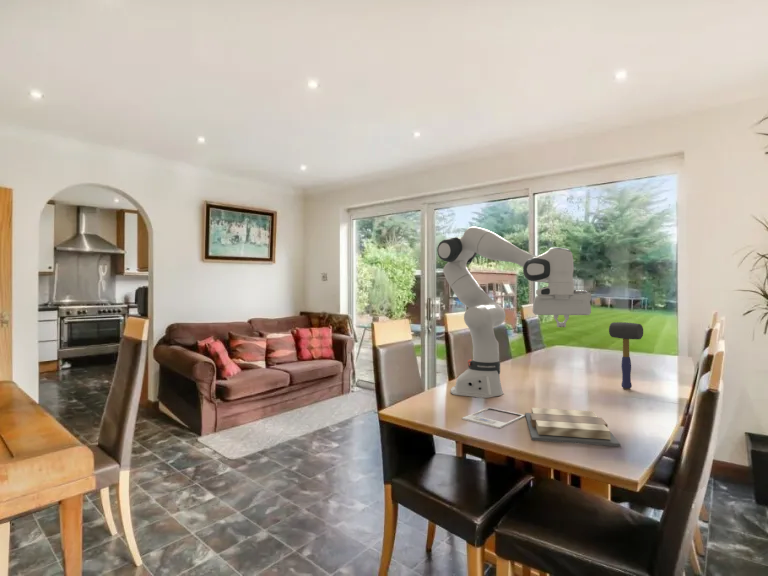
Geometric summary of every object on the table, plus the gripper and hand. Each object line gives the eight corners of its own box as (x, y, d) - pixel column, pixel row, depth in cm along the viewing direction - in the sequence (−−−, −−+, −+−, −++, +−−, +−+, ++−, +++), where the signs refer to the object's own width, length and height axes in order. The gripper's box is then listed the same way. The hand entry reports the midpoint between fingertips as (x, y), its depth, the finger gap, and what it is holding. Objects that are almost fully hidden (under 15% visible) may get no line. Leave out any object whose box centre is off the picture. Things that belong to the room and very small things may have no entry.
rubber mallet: (608, 387, 191) (607, 322, 191) (616, 385, 196) (615, 321, 196) (638, 393, 181) (637, 323, 181) (645, 390, 186) (644, 322, 186)
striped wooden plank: (532, 427, 135) (532, 419, 135) (530, 420, 142) (530, 413, 142) (607, 432, 130) (607, 424, 130) (601, 425, 137) (601, 417, 137)
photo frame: (462, 417, 147) (488, 406, 160) (462, 420, 147) (488, 409, 160) (499, 426, 137) (525, 414, 150) (499, 429, 137) (525, 417, 150)
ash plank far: (533, 420, 142) (533, 413, 142) (531, 414, 149) (531, 407, 149) (598, 424, 137) (598, 417, 137) (593, 418, 144) (593, 411, 144)
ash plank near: (538, 434, 128) (538, 426, 128) (535, 428, 135) (535, 420, 135) (610, 439, 123) (610, 430, 123) (604, 432, 130) (604, 424, 130)
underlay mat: (532, 439, 126) (532, 437, 126) (525, 414, 151) (525, 412, 152) (620, 446, 120) (620, 443, 120) (598, 419, 146) (597, 417, 146)
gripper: (589, 290, 158) (589, 326, 158) (531, 290, 163) (532, 326, 163) (593, 290, 152) (593, 328, 152) (533, 290, 157) (533, 327, 157)
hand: (561, 327), depth 158 cm, fingers closed
